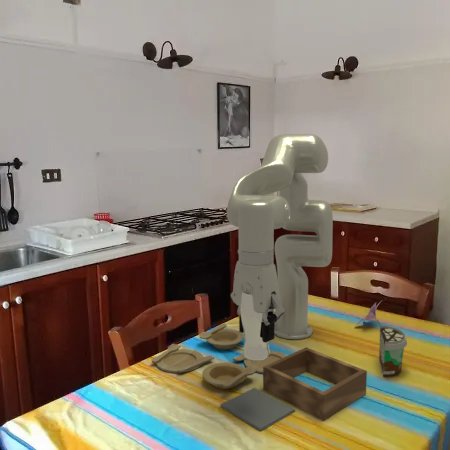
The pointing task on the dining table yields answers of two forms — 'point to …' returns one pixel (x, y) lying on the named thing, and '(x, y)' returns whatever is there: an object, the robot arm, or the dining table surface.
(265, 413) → the grey mat
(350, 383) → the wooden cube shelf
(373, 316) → the lily
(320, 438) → the dining table surface
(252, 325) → the beer glass
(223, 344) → the tableware set
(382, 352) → the food container
